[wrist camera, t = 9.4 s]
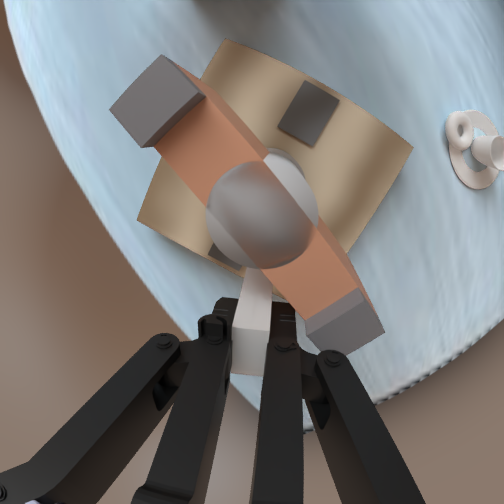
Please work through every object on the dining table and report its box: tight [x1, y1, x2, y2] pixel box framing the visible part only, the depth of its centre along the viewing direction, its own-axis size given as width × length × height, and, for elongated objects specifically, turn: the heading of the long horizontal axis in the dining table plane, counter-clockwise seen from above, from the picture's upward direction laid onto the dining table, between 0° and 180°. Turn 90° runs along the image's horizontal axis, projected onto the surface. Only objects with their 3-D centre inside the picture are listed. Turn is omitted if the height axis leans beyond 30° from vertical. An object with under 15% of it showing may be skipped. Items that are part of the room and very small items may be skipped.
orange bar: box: [109, 54, 385, 356], centre depth 13 cm, size 13×4×8 cm, turn 40°
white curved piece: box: [445, 110, 504, 189], centre depth 17 cm, size 9×8×4 cm
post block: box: [137, 38, 414, 300], centre depth 19 cm, size 16×16×6 cm
